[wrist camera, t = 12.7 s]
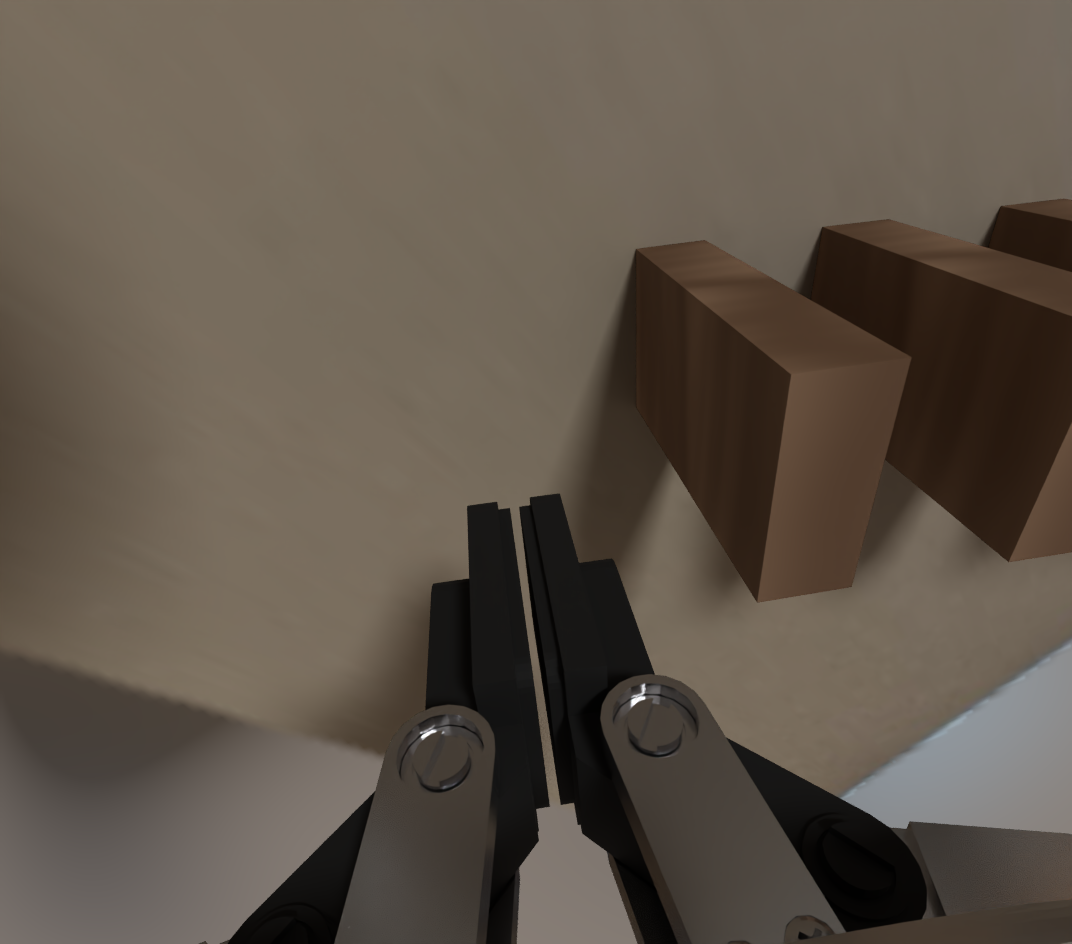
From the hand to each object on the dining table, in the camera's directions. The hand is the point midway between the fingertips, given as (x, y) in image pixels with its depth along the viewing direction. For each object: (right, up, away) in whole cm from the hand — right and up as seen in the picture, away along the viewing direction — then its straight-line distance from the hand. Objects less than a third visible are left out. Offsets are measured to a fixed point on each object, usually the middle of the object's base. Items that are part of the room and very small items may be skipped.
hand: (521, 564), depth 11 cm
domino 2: (+10, +7, +8) cm, 14 cm away
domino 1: (+4, +6, +7) cm, 10 cm away
